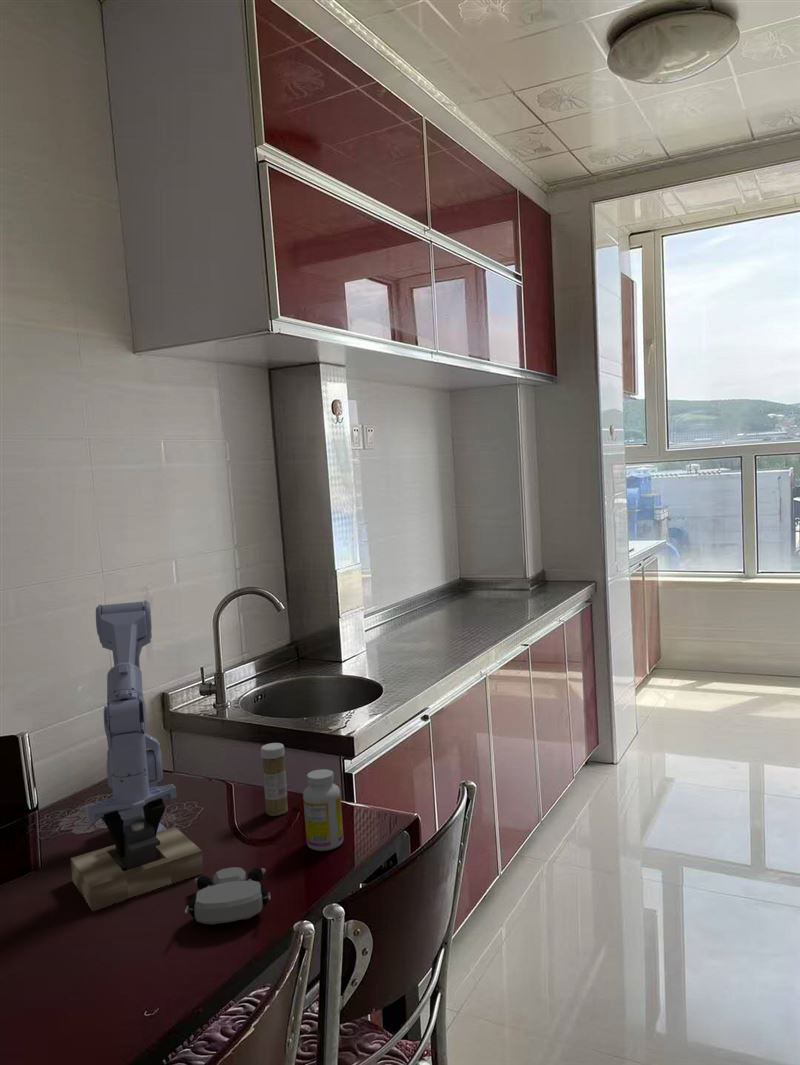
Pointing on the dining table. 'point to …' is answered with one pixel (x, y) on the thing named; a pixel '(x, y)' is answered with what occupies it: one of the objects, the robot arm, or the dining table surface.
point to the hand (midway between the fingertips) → (135, 850)
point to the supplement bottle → (322, 811)
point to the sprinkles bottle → (274, 779)
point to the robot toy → (228, 896)
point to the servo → (138, 842)
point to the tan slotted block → (135, 870)
